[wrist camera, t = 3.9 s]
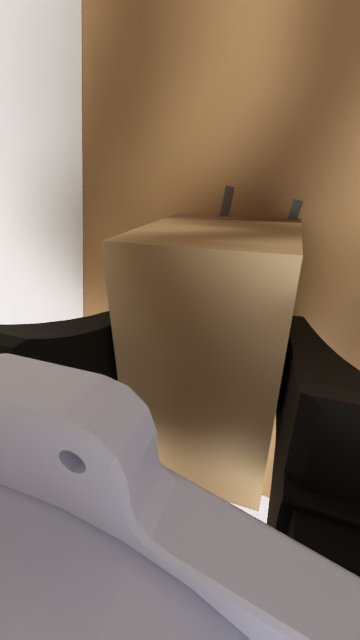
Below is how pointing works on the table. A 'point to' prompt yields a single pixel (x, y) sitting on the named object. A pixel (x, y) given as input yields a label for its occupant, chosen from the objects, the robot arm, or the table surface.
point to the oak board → (228, 135)
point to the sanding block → (206, 339)
